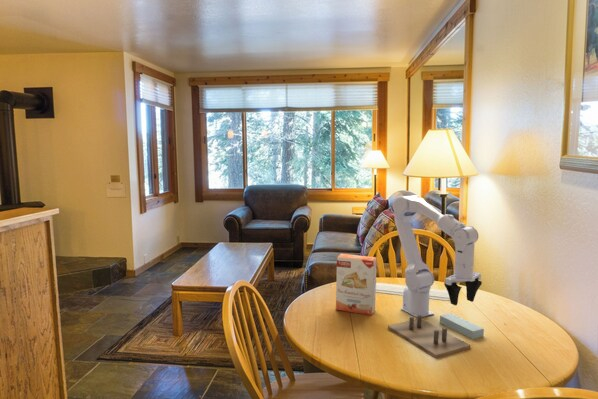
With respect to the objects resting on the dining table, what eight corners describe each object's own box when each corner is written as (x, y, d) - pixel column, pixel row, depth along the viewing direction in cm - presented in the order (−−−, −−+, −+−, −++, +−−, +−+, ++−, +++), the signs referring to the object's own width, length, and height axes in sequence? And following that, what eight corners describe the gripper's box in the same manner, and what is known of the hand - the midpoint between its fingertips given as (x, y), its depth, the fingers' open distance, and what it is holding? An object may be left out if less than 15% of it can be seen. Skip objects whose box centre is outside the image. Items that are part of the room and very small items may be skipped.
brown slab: (387, 328, 136) (388, 314, 135) (419, 321, 142) (420, 307, 141) (436, 358, 116) (436, 341, 115) (470, 348, 122) (471, 332, 121)
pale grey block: (439, 323, 140) (440, 315, 140) (450, 321, 143) (450, 313, 142) (472, 340, 128) (473, 331, 128) (483, 337, 130) (483, 328, 130)
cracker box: (335, 310, 151) (336, 256, 149) (339, 305, 157) (340, 252, 154) (372, 316, 146) (373, 260, 143) (375, 310, 151) (376, 256, 149)
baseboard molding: (449, 304, 160) (448, 294, 171) (449, 296, 159) (449, 287, 171) (371, 294, 170) (376, 285, 181) (371, 287, 170) (376, 279, 181)
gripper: (457, 268, 126) (455, 310, 127) (489, 263, 132) (487, 303, 134) (440, 263, 132) (439, 302, 134) (472, 258, 139) (470, 296, 140)
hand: (462, 302), depth 134 cm, fingers open, 7 cm apart
